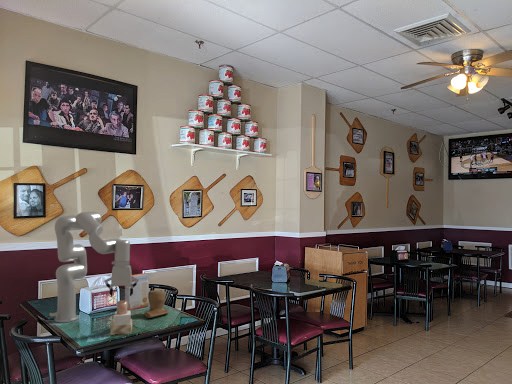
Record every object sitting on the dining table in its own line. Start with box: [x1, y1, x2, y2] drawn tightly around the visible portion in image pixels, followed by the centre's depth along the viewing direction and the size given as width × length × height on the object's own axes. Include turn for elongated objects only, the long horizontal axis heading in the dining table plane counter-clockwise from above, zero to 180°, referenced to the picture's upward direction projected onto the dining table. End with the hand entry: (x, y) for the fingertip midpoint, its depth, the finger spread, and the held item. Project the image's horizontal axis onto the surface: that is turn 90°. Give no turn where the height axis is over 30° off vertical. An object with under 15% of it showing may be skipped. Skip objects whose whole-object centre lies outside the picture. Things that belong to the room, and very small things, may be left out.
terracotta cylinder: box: [116, 300, 128, 315], centre depth 215 cm, size 5×5×6 cm
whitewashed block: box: [113, 310, 132, 326], centre depth 215 cm, size 8×8×5 cm
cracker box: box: [124, 273, 150, 311], centre depth 262 cm, size 14×6×21 cm, turn 136°
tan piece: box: [143, 289, 170, 319], centre depth 245 cm, size 15×12×15 cm
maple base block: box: [110, 318, 133, 336], centre depth 216 cm, size 10×10×5 cm
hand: (121, 295), depth 216 cm, fingers open, 9 cm apart
